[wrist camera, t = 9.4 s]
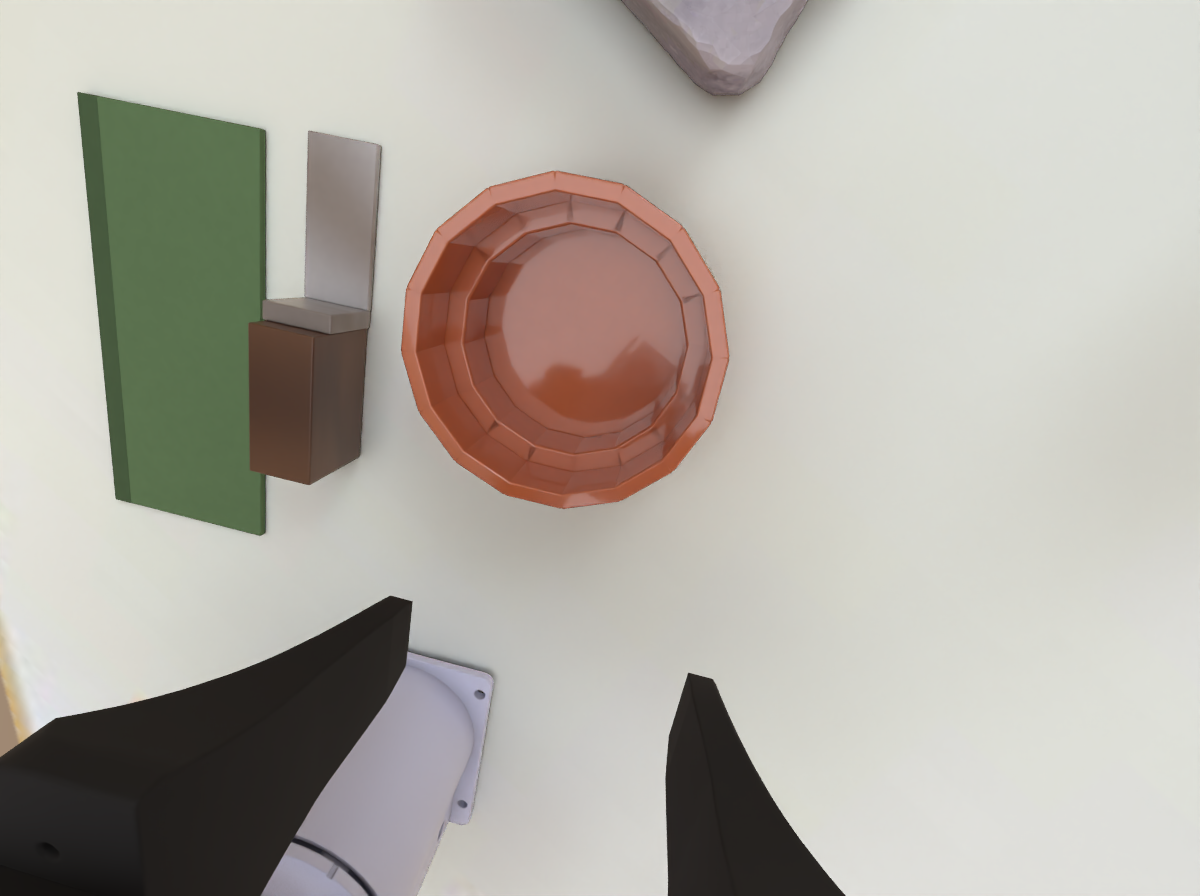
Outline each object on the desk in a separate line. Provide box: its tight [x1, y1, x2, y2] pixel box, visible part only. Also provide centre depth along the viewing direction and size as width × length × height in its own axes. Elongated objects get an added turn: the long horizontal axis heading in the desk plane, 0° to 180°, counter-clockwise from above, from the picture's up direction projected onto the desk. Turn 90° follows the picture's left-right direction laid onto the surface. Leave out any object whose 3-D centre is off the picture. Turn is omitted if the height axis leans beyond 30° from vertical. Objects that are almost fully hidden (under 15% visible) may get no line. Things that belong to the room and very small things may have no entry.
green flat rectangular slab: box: [77, 92, 265, 536], centre depth 23 cm, size 17×7×1 cm, turn 169°
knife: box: [248, 131, 381, 485], centre depth 20 cm, size 12×3×3 cm, turn 169°
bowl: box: [401, 171, 729, 509], centre depth 18 cm, size 10×10×5 cm
